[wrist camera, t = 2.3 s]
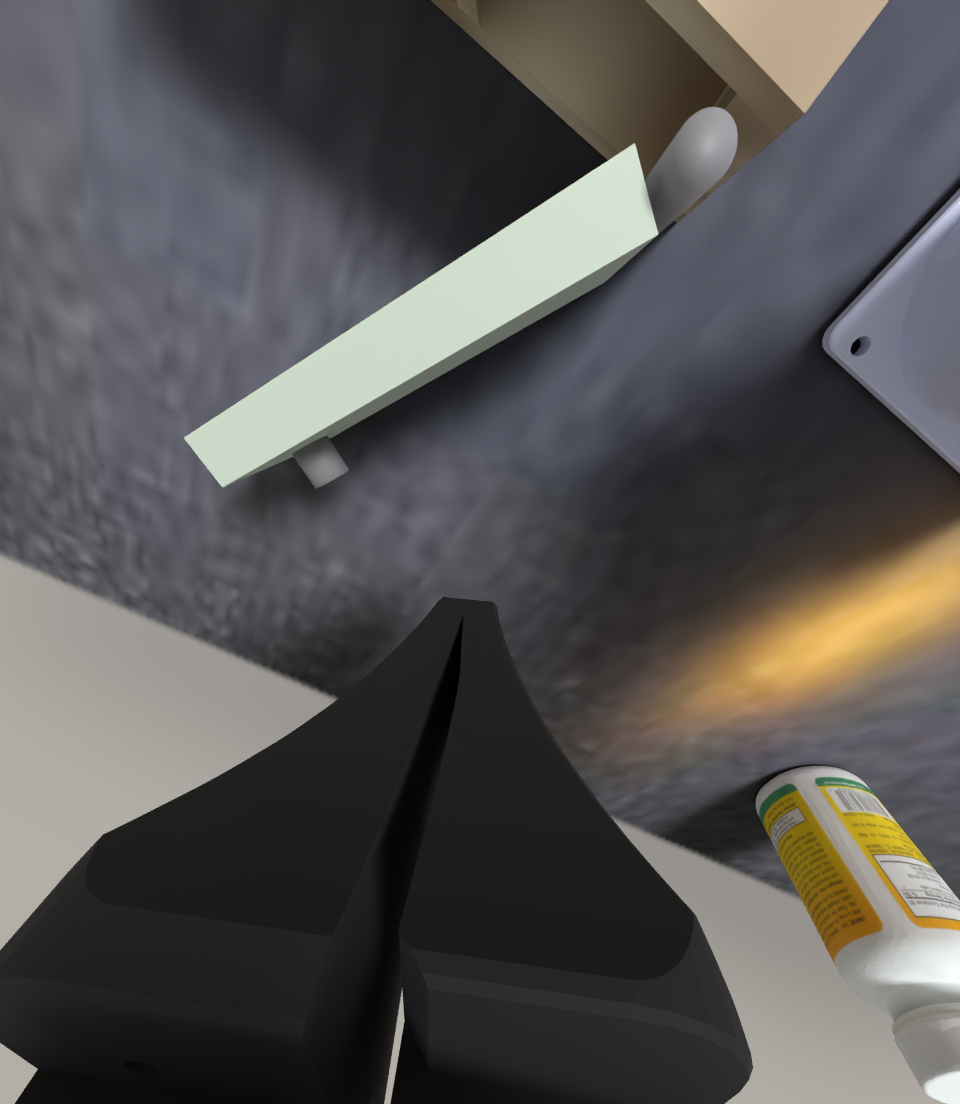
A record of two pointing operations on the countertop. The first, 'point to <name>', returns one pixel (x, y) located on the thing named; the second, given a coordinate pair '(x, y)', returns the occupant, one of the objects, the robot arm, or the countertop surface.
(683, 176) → the door
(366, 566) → the countertop surface
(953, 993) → the supplement bottle
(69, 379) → the countertop surface
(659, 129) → the cabinet
